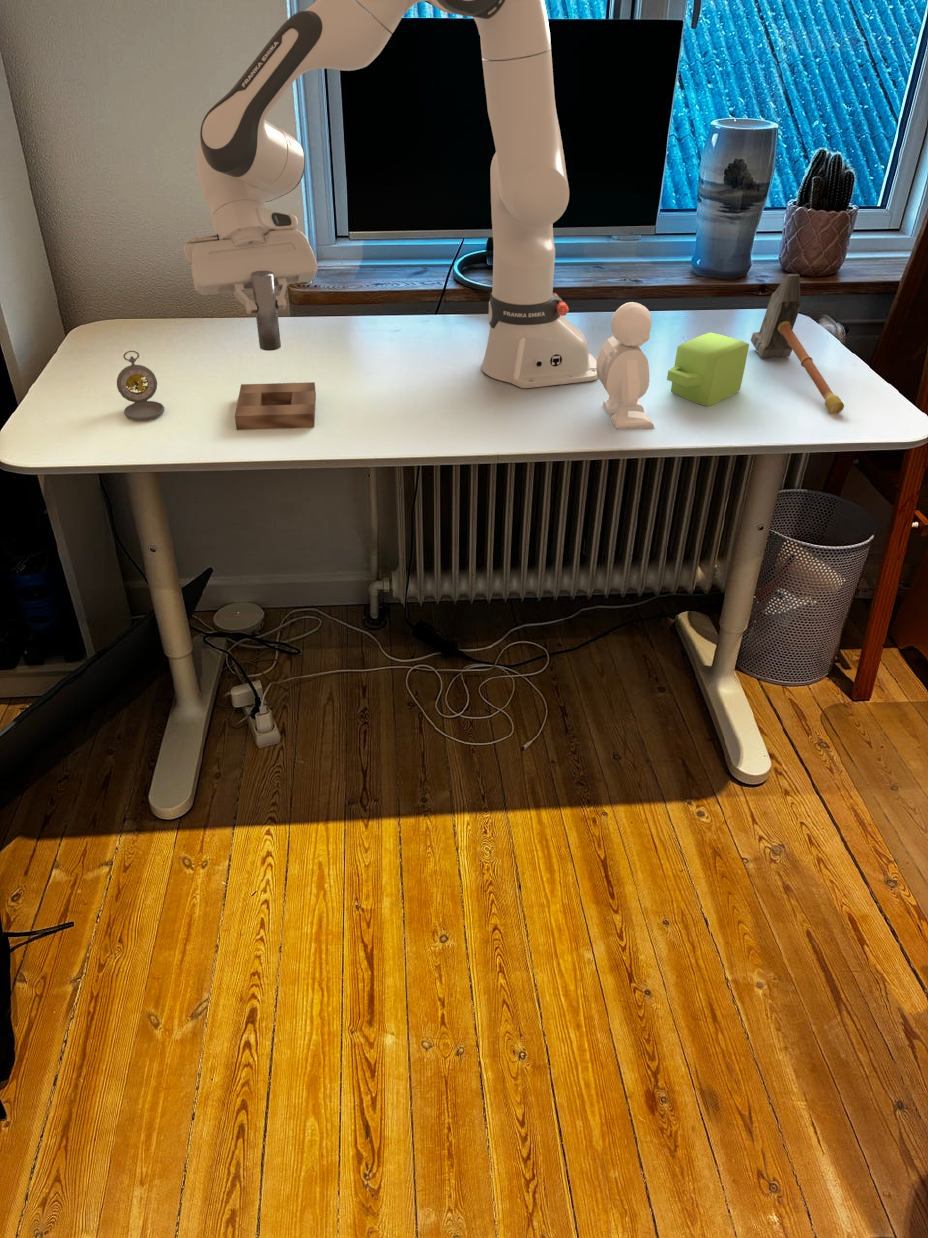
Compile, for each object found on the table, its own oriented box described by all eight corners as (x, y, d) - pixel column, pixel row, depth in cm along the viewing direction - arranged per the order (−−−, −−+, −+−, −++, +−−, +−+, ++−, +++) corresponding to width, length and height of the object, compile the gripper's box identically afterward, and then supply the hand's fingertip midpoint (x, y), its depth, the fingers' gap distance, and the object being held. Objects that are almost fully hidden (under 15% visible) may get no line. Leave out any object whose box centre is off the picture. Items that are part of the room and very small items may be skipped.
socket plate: (315, 395, 172) (314, 382, 171) (314, 427, 162) (313, 413, 160) (242, 397, 171) (241, 384, 169) (236, 429, 161) (234, 415, 159)
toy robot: (657, 432, 162) (674, 316, 150) (606, 434, 161) (619, 318, 149) (635, 398, 173) (650, 288, 161) (587, 400, 172) (598, 289, 160)
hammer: (839, 364, 161) (773, 267, 181) (807, 440, 174) (749, 342, 193) (872, 362, 162) (803, 266, 181) (838, 438, 174) (777, 341, 194)
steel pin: (281, 342, 161) (273, 270, 154) (280, 350, 158) (272, 277, 151) (260, 342, 161) (251, 270, 153) (259, 350, 158) (250, 277, 151)
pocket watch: (144, 426, 161) (132, 369, 155) (109, 414, 165) (97, 358, 159) (179, 408, 167) (169, 353, 161) (145, 397, 170) (134, 343, 164)
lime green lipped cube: (708, 369, 185) (717, 321, 179) (753, 384, 179) (763, 335, 173) (652, 395, 175) (660, 345, 169) (698, 412, 169) (707, 361, 163)
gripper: (180, 227, 149) (205, 309, 148) (305, 214, 157) (329, 292, 156) (178, 249, 155) (202, 328, 154) (299, 235, 163) (322, 310, 162)
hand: (267, 310), depth 155 cm, fingers closed on steel pin, 3 cm apart
